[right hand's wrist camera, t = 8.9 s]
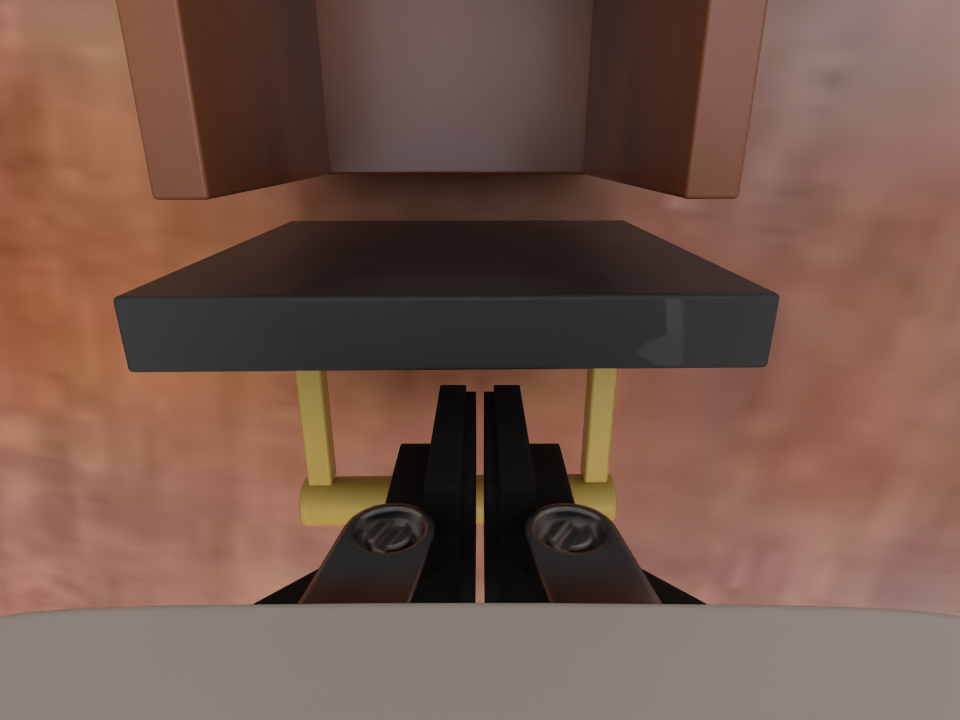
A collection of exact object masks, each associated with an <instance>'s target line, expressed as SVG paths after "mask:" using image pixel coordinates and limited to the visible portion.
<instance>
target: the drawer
mask: <svg viewBox="0 0 960 720" xmlns="http://www.w3.org/2000/svg"><path fill="white" fill-rule="evenodd" d="M116 3H117V8H118V14H119V19H120V24H121V30H122V35H123V40H124V45H125V51H126V56H127V61H128V67H129V72H130V77H131V83H132V88H133V93H134V98H135V104H136V109H137V114H138V120H139V125H140V130H141V136H142V141H143V146H144V152H145V157H146V162H147V167H148V173H149V178H150V183H151V189H152V194H153V197H154V198H155V199H157V200H207V199H212V198H217V197H222V196H226V195H231V194H236V193H241V192H246V191H251V190H256V189H260V188H265V187H270V186H275V185H280V184H285V183H290V182H294V181H299V180H304V179H309V178H314V177H319V176H324V175H328V174H586V175H590V176H594V177H598V178H603V179H607V180H611V181H615V182H619V183H623V184H628V185H632V186H636V187H640V188H644V189H649V190H653V191H657V192H661V193H665V194H670V195H674V196H678V197H682V198H686V199H735V198H737V197H738V195H739V190H740V183H741V177H742V170H743V163H744V157H745V150H746V143H747V137H748V130H749V123H750V116H751V110H752V103H753V96H754V90H755V83H756V76H757V70H758V63H759V56H760V50H761V43H762V36H763V30H764V23H765V16H766V9H767V3H768V0H116ZM778 303H779V295H778V294H777V293H775V292H772V291H770V290H768V289H766V288H764V287H762V286H760V285H758V284H756V283H754V282H751V281H749V280H747V279H745V278H743V277H741V276H739V275H737V274H735V273H732V272H730V271H728V270H726V269H724V268H722V267H720V266H718V265H716V264H714V263H711V262H709V261H707V260H705V259H703V258H701V257H699V256H697V255H695V254H693V253H690V252H688V251H686V250H684V249H682V248H680V247H678V246H676V245H674V244H672V243H669V242H667V241H665V240H663V239H661V238H659V237H657V236H655V235H653V234H650V233H648V232H646V231H644V230H642V229H640V228H638V227H636V226H634V225H632V224H629V223H627V222H625V221H291V222H289V223H287V224H284V225H282V226H280V227H277V228H275V229H273V230H270V231H268V232H266V233H263V234H261V235H259V236H256V237H254V238H252V239H249V240H247V241H245V242H242V243H240V244H238V245H235V246H233V247H231V248H228V249H226V250H224V251H222V252H219V253H217V254H215V255H212V256H210V257H208V258H205V259H203V260H201V261H198V262H196V263H194V264H191V265H189V266H187V267H184V268H182V269H180V270H177V271H175V272H173V273H170V274H168V275H166V276H163V277H161V278H159V279H156V280H154V281H152V282H150V283H147V284H145V285H143V286H140V287H138V288H136V289H133V290H131V291H129V292H126V293H124V294H122V295H119V296H117V297H115V298H114V306H115V311H116V315H117V319H118V324H119V328H120V333H121V337H122V342H123V346H124V351H125V355H126V360H127V364H128V368H129V370H130V371H131V372H210V371H295V375H296V383H297V391H298V400H299V408H300V417H301V425H302V434H303V442H304V451H305V459H306V468H307V476H308V478H306V479H305V481H304V483H303V485H302V489H301V493H300V505H299V506H300V517H301V521H302V523H303V524H304V525H306V526H333V525H346V524H347V522H348V521H349V520H350V519H351V518H352V517H353V516H354V515H356V514H358V513H359V512H361V511H362V510H364V509H367V508H370V507H372V506H375V505H380V504H385V502H386V498H387V494H388V491H389V487H390V483H391V479H392V476H352V477H335V475H336V465H335V455H334V445H333V435H332V424H331V414H330V404H329V394H328V384H327V373H326V371H341V370H473V369H588V370H587V384H586V399H585V413H584V428H583V442H582V457H581V473H582V474H567V476H568V479H569V483H570V487H571V491H572V494H573V498H574V502H575V504H580V505H585V506H588V507H590V508H593V509H596V510H598V511H599V512H601V513H602V514H604V515H606V516H607V517H608V518H609V519H610V520H611V521H613V520H614V517H615V514H616V491H615V485H614V482H613V479H612V477H611V475H609V474H608V469H609V457H610V446H611V435H612V423H613V412H614V401H615V389H616V378H617V368H736V367H765V366H766V365H767V362H768V357H769V351H770V346H771V341H772V335H773V330H774V324H775V319H776V313H777V308H778ZM476 524H484V475H476Z"/></svg>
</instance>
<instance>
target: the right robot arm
mask: <svg viewBox="0 0 960 720" xmlns="http://www.w3.org/2000/svg"><path fill="white" fill-rule="evenodd" d="M475 585H476V392H466V385H441V386H440V391H439V397H438V403H437V409H436V415H435V421H434V427H433V433H432V439H431V444H401V446H400V449H399V453H398V457H397V461H396V464H395V468H394V472H393V476H392V479H391V483H390V487H389V491H388V494H387V498H386V502H385V504H380V505H375V506H372V507H370V508H367V509H364V510H362V511H361V512H359V513H358V514H356V515H354V516H353V517H352V518H351V519H350V520H349V521H348V522H347V524H346V525H345V526H344V528H343V530H342V531H341V533H340V534H339V536H338V538H337V539H336V541H335V543H334V544H333V546H332V548H331V549H330V551H329V553H328V554H327V556H326V558H325V559H324V561H323V563H322V564H321V566H320V568H319V569H317V570H315V571H314V572H312V573H310V574H308V575H306V576H304V577H303V578H301V579H299V580H297V581H295V582H293V583H291V584H290V585H288V586H286V587H284V588H282V589H280V590H278V591H277V592H275V593H273V594H271V595H269V596H267V597H266V598H264V599H262V600H260V601H258V602H256V603H254V604H253V605H177V606H144V607H114V608H83V609H62V610H51V611H40V612H29V613H19V614H12V615H6V616H0V720H960V616H955V615H948V614H941V613H931V612H921V611H910V610H898V609H878V608H850V607H816V606H779V605H707V604H706V603H704V602H702V601H700V600H698V599H696V598H694V597H693V596H691V595H689V594H687V593H685V592H683V591H682V590H680V589H678V588H676V587H674V586H672V585H670V584H669V583H667V582H665V581H663V580H661V579H659V578H657V577H656V576H654V575H652V574H650V573H648V572H646V571H645V570H643V569H641V568H640V566H639V564H638V563H637V561H636V559H635V558H634V556H633V554H632V553H631V551H630V549H629V548H628V546H627V544H626V543H625V541H624V539H623V538H622V536H621V534H620V533H619V531H618V530H617V528H616V526H615V525H614V524H613V522H612V521H611V520H610V519H609V518H608V517H607V516H606V515H604V514H602V513H601V512H599V511H598V510H596V509H593V508H590V507H588V506H585V505H580V504H575V502H574V498H573V494H572V491H571V487H570V483H569V479H568V476H567V472H566V468H565V464H564V461H563V457H562V453H561V449H560V446H559V444H529V439H528V433H527V427H526V421H525V415H524V409H523V403H522V397H521V391H520V386H519V385H494V392H484V585H485V603H475Z"/></svg>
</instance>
